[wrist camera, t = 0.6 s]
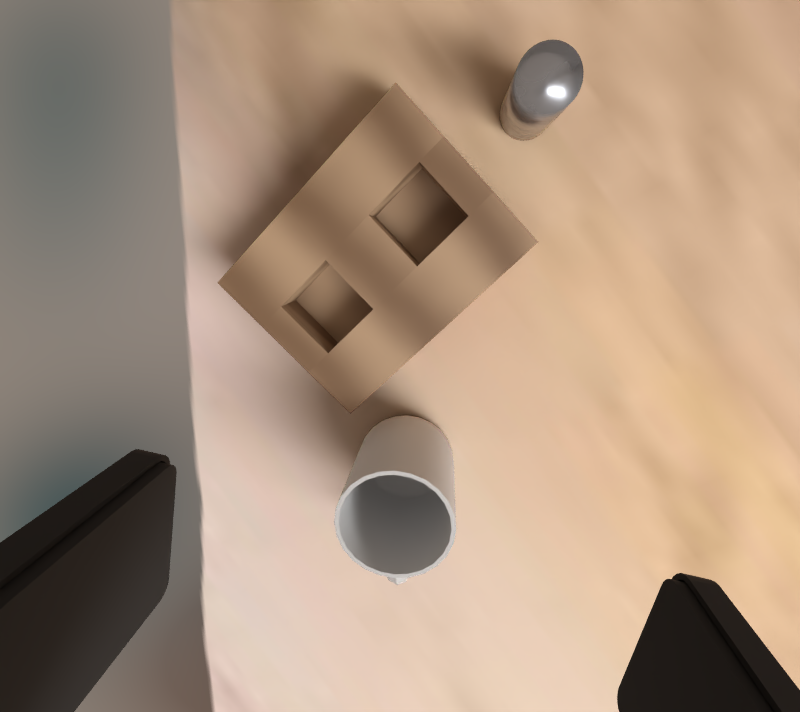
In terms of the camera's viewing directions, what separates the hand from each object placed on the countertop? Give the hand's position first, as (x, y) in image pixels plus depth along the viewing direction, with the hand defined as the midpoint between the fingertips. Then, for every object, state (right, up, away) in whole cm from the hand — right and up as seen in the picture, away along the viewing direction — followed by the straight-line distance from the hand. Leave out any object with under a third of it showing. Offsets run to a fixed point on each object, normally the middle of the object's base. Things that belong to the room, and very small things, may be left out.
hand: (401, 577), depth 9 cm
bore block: (-1, +11, +24) cm, 26 cm away
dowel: (+8, +19, +21) cm, 29 cm away
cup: (+1, -5, +28) cm, 28 cm away
